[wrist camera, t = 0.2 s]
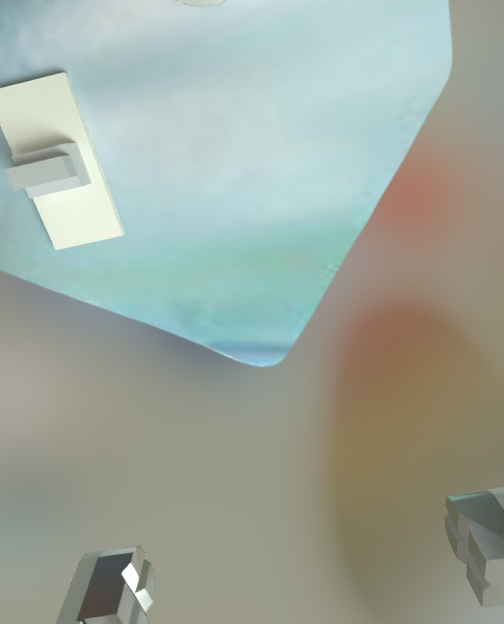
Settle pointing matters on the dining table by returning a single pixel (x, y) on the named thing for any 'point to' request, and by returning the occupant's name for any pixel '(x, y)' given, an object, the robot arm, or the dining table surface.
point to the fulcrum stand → (57, 161)
